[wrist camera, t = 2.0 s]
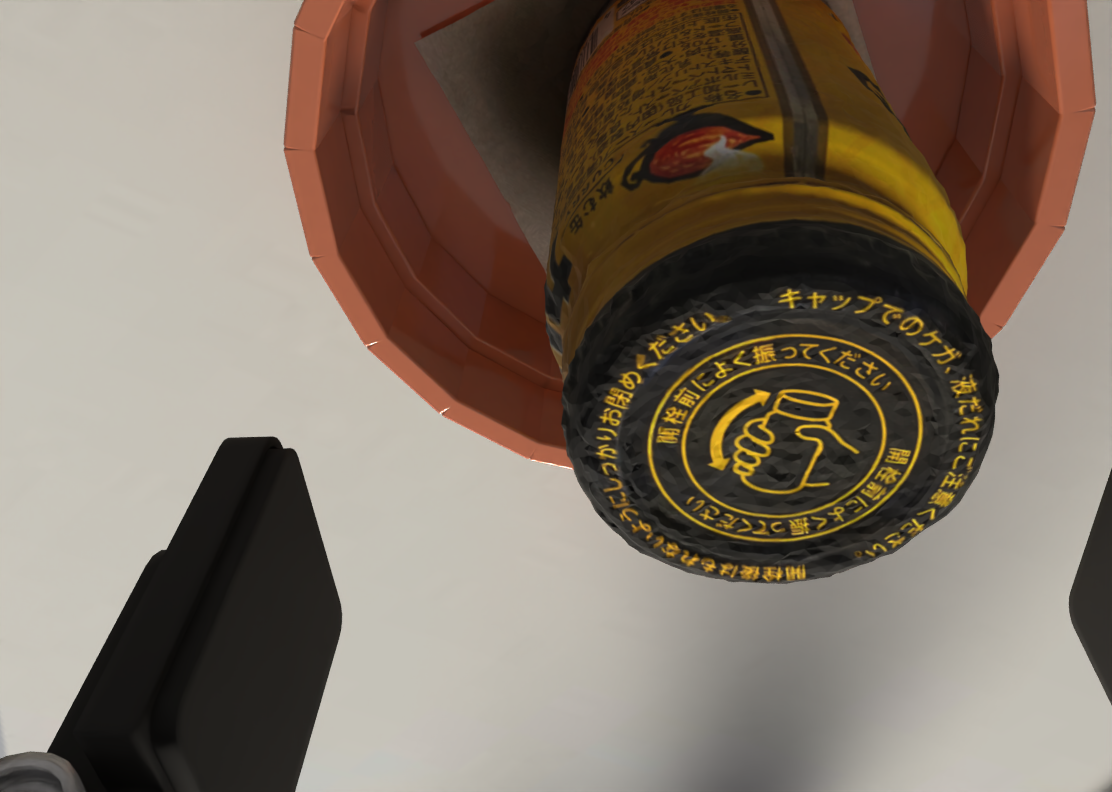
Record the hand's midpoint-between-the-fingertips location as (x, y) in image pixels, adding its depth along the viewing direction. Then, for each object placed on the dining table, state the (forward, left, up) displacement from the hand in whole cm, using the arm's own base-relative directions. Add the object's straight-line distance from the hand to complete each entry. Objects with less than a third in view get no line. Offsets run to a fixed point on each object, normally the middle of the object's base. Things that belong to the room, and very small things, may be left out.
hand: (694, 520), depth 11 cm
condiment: (0, 0, -13) cm, 13 cm away
